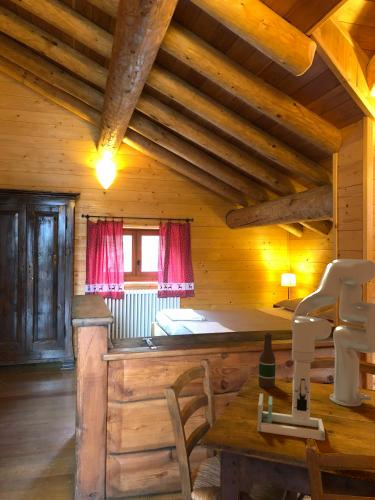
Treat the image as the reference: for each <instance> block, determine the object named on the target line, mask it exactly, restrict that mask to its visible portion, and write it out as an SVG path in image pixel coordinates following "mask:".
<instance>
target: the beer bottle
mask: <svg viewBox="0 0 375 500" xmlns="http://www.w3.org/2000/svg"><path fill="white" fill-rule="evenodd" d="M263 336H264V341H263V347H262V348H263V349H262V351H261V352H260V354H259V359H258V377H257V378H258V387H262V388H265V389H271V388H275V386H276V384H275V383H276V357H275V354H274V352H273V348H272V346H273V344H272V338H273V334H272V333H270V332H264V334H263Z"/></svg>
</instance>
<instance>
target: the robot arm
mask: <svg viewBox="0 0 375 500" xmlns="http://www.w3.org/2000/svg"><path fill="white" fill-rule="evenodd" d="M373 279H375V262H373V260H370V259H361V258H360V259H358V258H357V259H354V258H338V259H337V258H336V259H334V260H332V262H330V263H328V264H327V265H326V266H325V269H324V271H323V273H322V276H321V277H320V281H319V283H318V285H317V288H316V289H315V291H314V292H312V293H311V294H309V295H308V296H306V297H304V298H303V300H301V301H300V302H298V305H297V306H296V307H295V309H294V312H293V314H292V317H291V320H290V329H291V332H292V339H291V340H292V343H291V360H292V361H294V363H293V375H294V389H295V390H296V389H297V390H298V398H297V410H299V411H307V399H306V398H307V391H308V390H309V382H310V383H311V380H310V379H311V363H313V362H315V347H316V344H315V343H316V340H319V341H320V340H322V341H323V340H325V339H328V338H329V337H330V336H331V334H333V335H332V336H333V345H334V374H333V375H334V377H333V393H330V394H329V400H330V401H332V402H333V403H334V404H337V405H341V406H344V407H354V408H355V407H359V406H360V407H361V405H362V404H363V400H366V401H371V400H372V399H371V395H369V394H367V393H364V392H363V393H362V392H360V391H359V383H360V381H359V380H360V379H359V378H360V359H359V356H358V354H357V353H356V352H360V353H365V354H374V353H375V303H374V302H370V301H369V302H368V301H363V298H362V297H363V296H362V295H363V288H362V286H361V285H365V284H366V283H368V282H371V281H372V280H373ZM338 300H339V304H338V305H339V306H338V317H339V319H340V320H341V322H345V323H349V324H353V325H354V324H355V325H360V326H361V325H362V326H364V328H363V327H358V326H351V325H342V324H341V325H338V326H336V327H335V328H334V329H332V324H331V323H330V321H329V320H327V319H326V318H322V317H316V316H311V315H309V314H310V313H311V312H312V311H314V310H317V309H320V308H323V307H327V306H331V305H334V304H336V303H337V302H338ZM332 330H333V332H332ZM299 388H301V389H299ZM300 391H301V393H300Z"/></svg>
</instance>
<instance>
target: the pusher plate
mask: <svg viewBox="0 0 375 500" xmlns="http://www.w3.org/2000/svg"><path fill="white" fill-rule="evenodd" d="M267 406H268V407H267V408H268V409H267V412H268V418H263V420H262V423H269V424H272V422H273V421H272V413H273V396H268V405H267Z"/></svg>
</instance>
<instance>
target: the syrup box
mask: <svg viewBox="0 0 375 500" xmlns="http://www.w3.org/2000/svg"><path fill="white" fill-rule="evenodd" d="M299 389H301V388H299ZM291 390H292V395H291V397H292V399H291V400H292V403H291V415H292V418H293V421H294V422H300V423H310V417H311V381H310V382H309V390H308V391H307V398H306V399H307V411H299V410H297V398H298V390H297V389H296V390H295V389H294V374H293V375H292V389H291ZM300 393H301V391H300Z"/></svg>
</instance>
